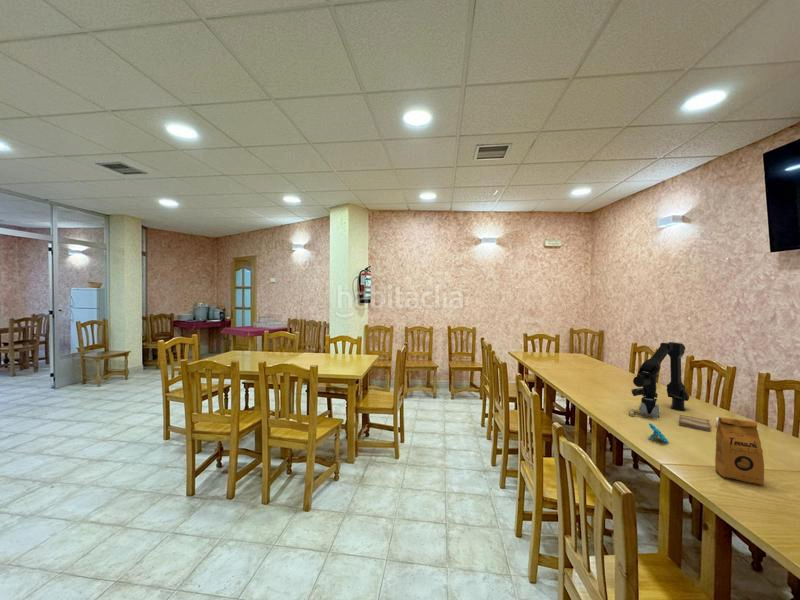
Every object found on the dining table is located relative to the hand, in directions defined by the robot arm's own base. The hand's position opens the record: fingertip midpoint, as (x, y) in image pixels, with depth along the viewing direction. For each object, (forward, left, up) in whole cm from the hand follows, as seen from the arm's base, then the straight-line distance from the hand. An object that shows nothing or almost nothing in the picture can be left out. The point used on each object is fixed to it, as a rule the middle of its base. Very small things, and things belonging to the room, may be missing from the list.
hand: (649, 412), depth 191 cm
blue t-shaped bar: (+38, +6, -2) cm, 38 cm away
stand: (+2, +19, -2) cm, 19 cm away
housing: (0, 0, -2) cm, 2 cm away
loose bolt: (+5, -7, -2) cm, 9 cm away
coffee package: (+58, +31, -2) cm, 66 cm away
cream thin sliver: (-1, +30, -2) cm, 30 cm away
